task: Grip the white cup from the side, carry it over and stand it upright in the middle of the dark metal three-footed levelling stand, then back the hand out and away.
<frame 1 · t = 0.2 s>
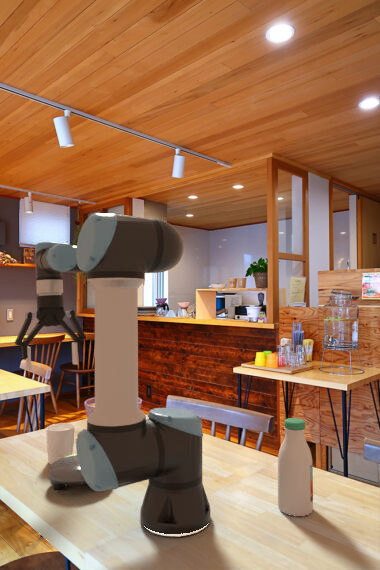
hand: (52, 367, 129), 27 cm above the table, tool pointing down, fingers open, 13 cm apart
white cup: (60, 462, 128), on the table
levelling stand: (80, 483, 113), on the table
milk bottle: (295, 510, 99), on the table
bowl of food: (113, 434, 153), on the table
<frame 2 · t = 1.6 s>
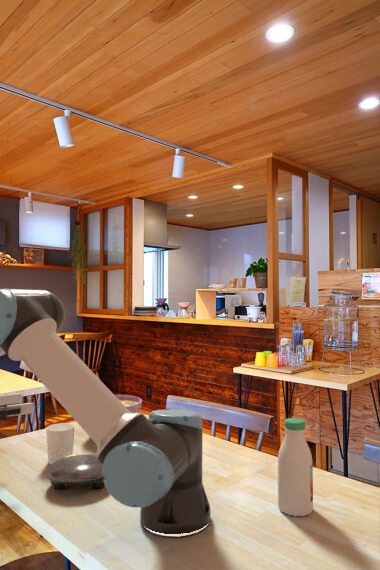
hand: (27, 402, 123), 18 cm above the table, tool horizontal, fingers open, 13 cm apart
nothing on the table moved.
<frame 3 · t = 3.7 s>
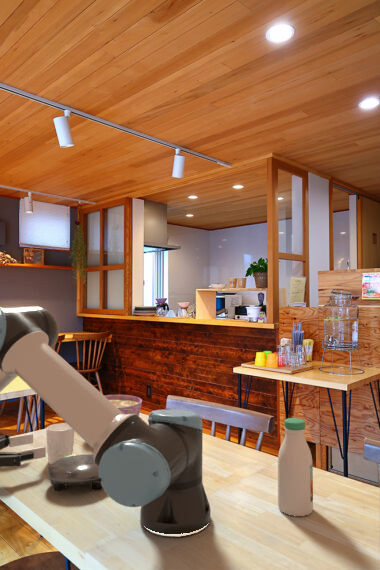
hand: (38, 444, 125), 6 cm above the table, tool horizontal, fingers open, 13 cm apart
nothing on the table moved.
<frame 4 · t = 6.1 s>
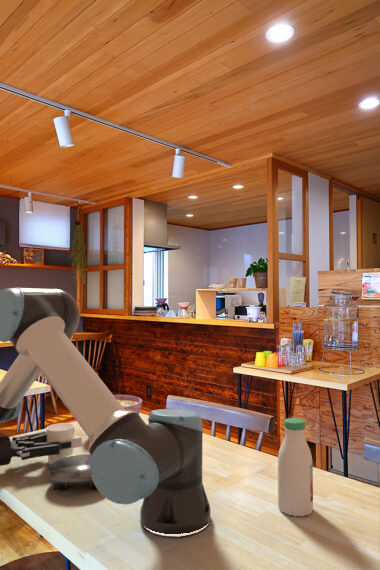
hand: (76, 437, 131), 6 cm above the table, tool horizontal, fingers closed on white cup, 7 cm apart
white cup: (60, 461, 128), on the table, touching gripper
everything else where it was.
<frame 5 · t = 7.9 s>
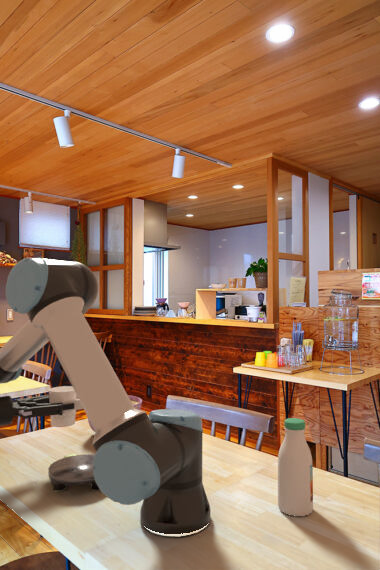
hand: (79, 400, 128), 18 cm above the table, tool horizontal, fingers closed on white cup, 7 cm apart
white cup: (63, 424, 125), point 11 cm above the table, touching gripper
everything else where it was.
when the fingers open (12 cm above the table, at t = 10.2 s): white cup drops 1 cm, resting on levelling stand.
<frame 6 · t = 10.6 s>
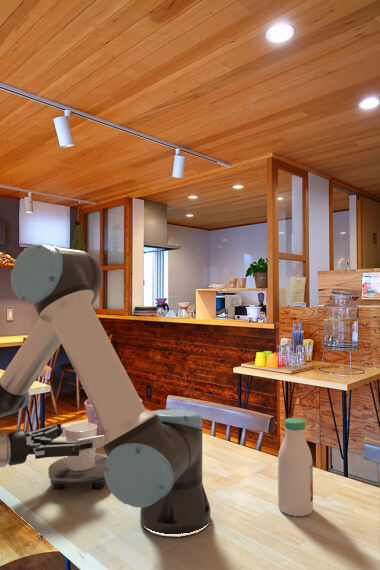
hand: (94, 433, 115), 12 cm above the table, tool horizontal, fingers open, 12 cm apart
white cup: (81, 467, 113), point 4 cm above the table, touching levelling stand
everything else where it was.
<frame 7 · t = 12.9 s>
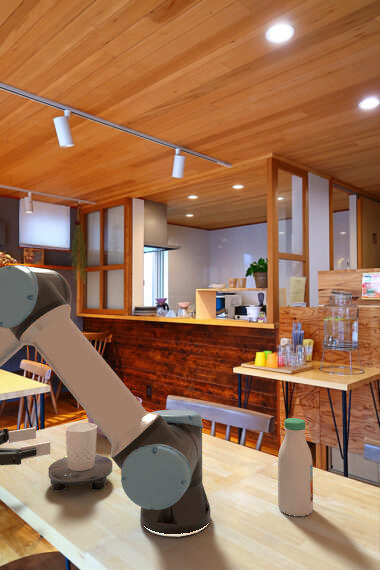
hand: (42, 439, 108), 13 cm above the table, tool horizontal, fingers open, 13 cm apart
nothing on the table moved.
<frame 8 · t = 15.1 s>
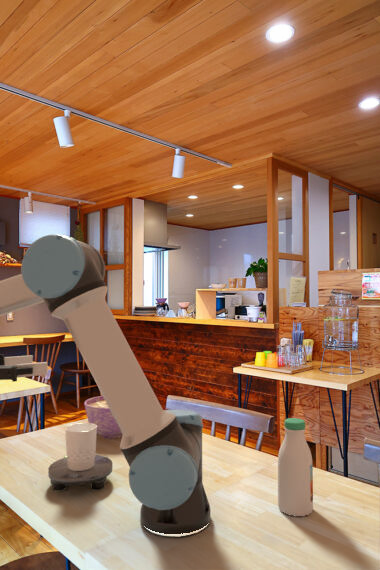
hand: (39, 364, 104), 32 cm above the table, tool horizontal, fingers open, 13 cm apart
nothing on the table moved.
at the end: white cup 0.5 cm off-centre on the levelling stand, point 4.3 cm above the levelling stand's base; white cup tilted 0°; the gripper is holding nothing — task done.
